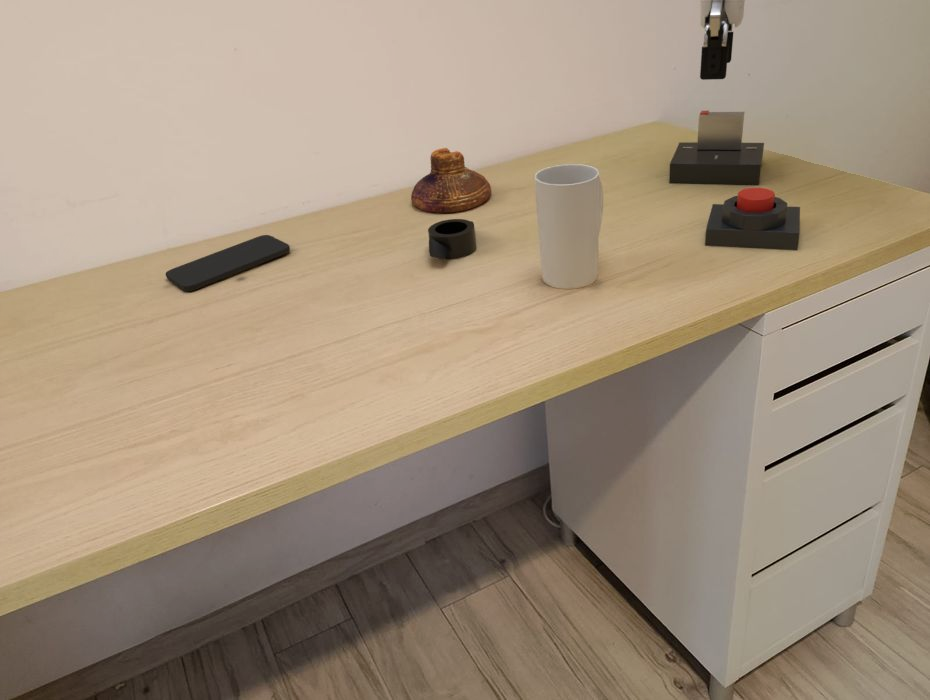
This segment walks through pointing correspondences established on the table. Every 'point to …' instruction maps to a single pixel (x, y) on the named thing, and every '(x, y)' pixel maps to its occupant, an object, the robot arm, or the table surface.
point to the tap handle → (720, 130)
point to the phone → (226, 262)
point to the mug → (569, 224)
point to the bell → (450, 185)
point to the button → (755, 200)
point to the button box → (753, 226)
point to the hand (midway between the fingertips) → (715, 70)
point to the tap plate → (716, 165)
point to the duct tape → (452, 239)
